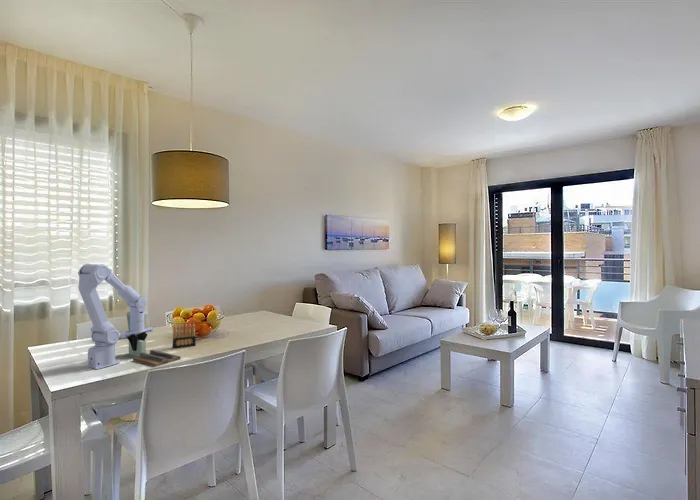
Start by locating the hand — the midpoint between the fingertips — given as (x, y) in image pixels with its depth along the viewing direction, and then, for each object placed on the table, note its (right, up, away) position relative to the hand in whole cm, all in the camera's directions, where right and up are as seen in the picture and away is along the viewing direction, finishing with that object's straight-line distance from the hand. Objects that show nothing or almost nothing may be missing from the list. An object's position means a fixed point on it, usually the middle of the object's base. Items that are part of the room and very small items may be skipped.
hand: (137, 349), depth 171 cm
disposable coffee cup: (-20, -2, +33) cm, 39 cm away
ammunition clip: (+16, -3, +14) cm, 21 cm away
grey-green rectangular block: (0, -2, 0) cm, 2 cm away
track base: (+13, -3, -7) cm, 15 cm away
